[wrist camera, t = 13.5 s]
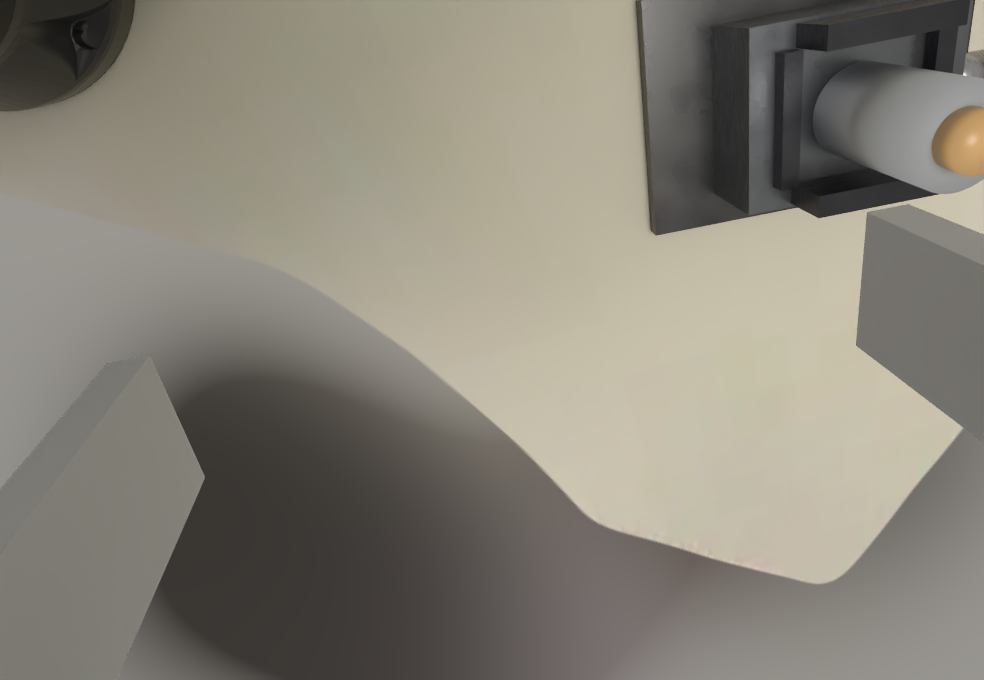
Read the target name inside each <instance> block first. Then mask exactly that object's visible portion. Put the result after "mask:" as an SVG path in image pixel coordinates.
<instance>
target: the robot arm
mask: <svg viewBox="0 0 984 680" xmlns="http://www.w3.org/2000/svg"><path fill="white" fill-rule="evenodd" d="M134 3H135V0H0V111H20V110H27V109H33V108H37V107H41V106H44V105H48V104H52V103H56V102H59V101H62V100H65V99H67V98H70V97H72V96H74V95H76V94H78V93H80V92H82V91H83V90H85V89H86V88H88V87H89V86H91V85H92V84H93V83H94V82H96V81H97V80H98V79H99V78H100V77H101V76H102V75H103V74H104V73H105V72H106V71H107V70H108V69H109V67H110V66H111V65H112V64H113V62H114V61H115V59H116V58H117V56H118V54H119V53H120V51H121V49H122V47H123V45H124V43H125V41H126V38H127V35H128V32H129V29H130V25H131V22H132V17H133V11H134ZM856 346H857V347H859V348H860V349H861V350H863V351H864V352H865V353H867V354H868V355H869V356H871V357H872V358H873V359H874V360H876V361H877V362H878V363H880V364H881V365H882V366H884V367H885V368H886V369H888V370H889V371H890V372H891V373H893V374H894V375H895V376H897V377H898V378H899V379H901V380H902V381H903V382H905V383H906V384H907V385H908V386H910V387H911V388H912V389H914V390H915V391H916V392H918V393H919V394H920V395H922V396H923V397H924V398H925V399H927V400H928V401H929V402H931V403H932V404H933V405H935V406H936V407H937V408H939V409H940V410H941V411H942V412H944V413H945V414H946V415H948V416H949V417H950V418H952V419H953V420H954V421H956V422H957V423H958V424H960V425H961V426H962V427H963V428H965V429H966V430H967V431H969V432H970V433H971V434H973V435H974V436H975V437H977V438H978V439H979V440H980V441H982V442H983V443H984V234H981V233H979V232H976V231H974V230H971V229H969V228H966V227H964V226H961V225H959V224H956V223H954V222H951V221H949V220H946V219H944V218H941V217H939V216H936V215H934V214H931V213H929V212H926V211H924V210H921V209H919V208H916V207H914V206H911V205H909V204H907V205H902V206H897V207H892V208H887V209H882V210H876V211H871V212H867V219H866V231H865V243H864V255H863V267H862V279H861V291H860V303H859V315H858V327H857V339H856ZM204 478H205V476H204V474H203V472H202V470H201V468H200V465H199V463H198V461H197V459H196V457H195V454H194V452H193V450H192V448H191V446H190V443H189V441H188V439H187V437H186V435H185V432H184V430H183V428H182V426H181V423H180V421H179V419H178V417H177V415H176V412H175V410H174V408H173V406H172V404H171V401H170V399H169V397H168V395H167V392H166V390H165V388H164V386H163V384H162V381H161V379H160V377H159V375H158V373H157V370H156V368H155V366H154V364H153V362H152V359H151V357H150V355H148V356H144V357H138V358H133V359H128V360H123V361H118V362H113V363H108V364H106V365H105V366H104V368H103V369H102V370H101V371H100V372H99V373H98V375H97V376H96V377H95V378H94V380H92V382H91V383H90V384H89V385H88V387H87V388H86V389H85V390H84V391H83V392H82V393H81V395H80V396H79V397H78V398H77V399H76V400H75V402H74V403H73V404H72V405H71V406H70V408H69V409H68V410H67V411H66V412H65V413H64V415H63V416H62V417H61V418H60V419H59V420H58V422H57V423H56V424H55V425H54V427H53V428H52V429H51V430H50V431H49V432H48V433H47V435H46V436H45V437H44V438H43V439H42V441H41V442H40V443H39V444H38V445H37V446H36V448H35V449H34V450H33V451H32V452H31V453H30V455H29V456H28V457H27V458H26V459H25V461H24V462H23V463H22V464H21V465H20V466H19V468H18V469H17V470H16V471H15V472H14V473H13V475H12V476H11V477H10V478H9V479H8V481H7V482H6V483H5V484H4V485H3V486H2V488H1V489H0V680H117V678H118V675H119V673H120V671H121V669H122V666H123V664H124V661H125V659H126V657H127V655H128V652H129V650H130V648H131V645H132V643H133V641H134V639H135V636H136V634H137V632H138V630H139V627H140V625H141V623H142V620H143V618H144V616H145V614H146V611H147V609H148V607H149V604H150V602H151V600H152V598H153V595H154V593H155V591H156V588H157V586H158V584H159V581H160V579H161V577H162V575H163V572H164V570H165V568H166V566H167V563H168V561H169V559H170V556H171V554H172V552H173V549H174V547H175V545H176V543H177V540H178V538H179V535H180V533H181V531H182V529H183V526H184V524H185V522H186V520H187V517H188V515H189V513H190V511H191V508H192V506H193V504H194V501H195V499H196V497H197V495H198V492H199V490H200V487H201V485H202V483H203V481H204Z"/></svg>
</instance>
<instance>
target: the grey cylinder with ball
mask: <svg viewBox="0 0 984 680" xmlns="http://www.w3.org/2000/svg"><path fill="white" fill-rule="evenodd" d="M813 130H814V134H815V137H816V139H817V141H818V142H819V144H820V145H821V146H822V147H823V148H824V149H825V150H827V151H828V152H830V153H832V154H835V155H837V156H840V157H842V158H845V159H847V160H850V161H853V162H855V163H858V164H860V165H863V166H865V167H868V168H871V169H873V170H876V171H878V172H881V173H883V174H886V175H889V176H891V177H894V178H896V179H899V180H901V181H904V182H906V183H909V184H912V185H914V186H917V187H919V188H922V189H924V190H927V191H930V192H933V193H937V194H950V193H955V192H959V191H962V190H965V189H967V188H969V187H971V186H973V185H975V184H976V183H978V182H980V181H981V180H982V179H984V78H978V77H971V76H965V75H959V74H952V73H946V72H940V71H933V70H927V69H921V68H915V67H908V66H902V65H896V64H889V63H883V62H877V61H862V62H857V63H854V64H851V65H849V66H847V67H845V68H844V69H842V70H841V71H839V72H838V73H837V74H835V75H834V76H833V77H832V78H831V79H830V80H829V82H828V83H827V84H826V85H825V87H824V88H823V90H822V91H821V93H820V95H819V97H818V99H817V101H816V104H815V108H814V112H813Z"/></svg>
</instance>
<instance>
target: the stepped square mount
mask: <svg viewBox="0 0 984 680" xmlns="http://www.w3.org/2000/svg"><path fill="white" fill-rule="evenodd" d="M974 4H975V0H637V1H636V7H637V22H638V37H639V53H640V68H641V83H642V99H643V114H644V129H645V145H646V160H647V175H648V191H649V206H650V221H651V231H652V232H653V233H654V234H655V235H661V234H666V233H671V232H676V231H681V230H686V229H691V228H696V227H701V226H706V225H711V224H716V223H721V222H726V221H731V220H736V219H741V218H746V217H751V216H756V215H761V214H766V213H772V212H777V211H782V210H787V209H792V208H797V207H798V208H800V209H802V210H804V211H806V212H808V213H810V214H812V215H814V216H816V217H818V218H822V217H827V216H832V215H837V214H842V213H847V212H852V211H857V210H862V209H867V208H872V207H877V206H882V205H887V204H892V203H897V202H902V201H907V200H912V199H917V198H922V197H927V196H933V195H938V194H937V193H933V192H930V191H927V190H924V189H922V188H919V187H917V186H914V185H912V184H909V183H906V182H904V181H901V180H899V179H896V178H894V177H891V176H889V175H886V174H883V173H881V172H878V171H876V170H873V169H871V168H868V167H865V166H863V165H860V164H858V163H855V162H853V161H850V160H847V159H845V158H842V157H840V156H837V155H835V154H832V153H830V152H828V151H827V150H825V149H824V148H823V147H822V146H821V145H820V144H819V142H818V141H817V139H816V137H815V134H814V130H813V112H814V108H815V104H816V101H817V99H818V97H819V95H820V93H821V91H822V90H823V88H824V87H825V85H826V84H827V83H828V82H829V80H830V79H831V78H832V77H833V76H834V75H835V74H837V73H838V72H839V71H841V70H842V69H844V68H845V67H847V66H849V65H851V64H854V63H857V62H862V61H877V62H883V63H889V64H896V65H902V66H908V67H915V68H921V69H927V70H933V71H940V72H946V73H952V74H959V75H965V76H971V77H978V78H984V50H977V51H972V52H968V47H969V40H970V33H971V25H972V18H973V11H974Z"/></svg>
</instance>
